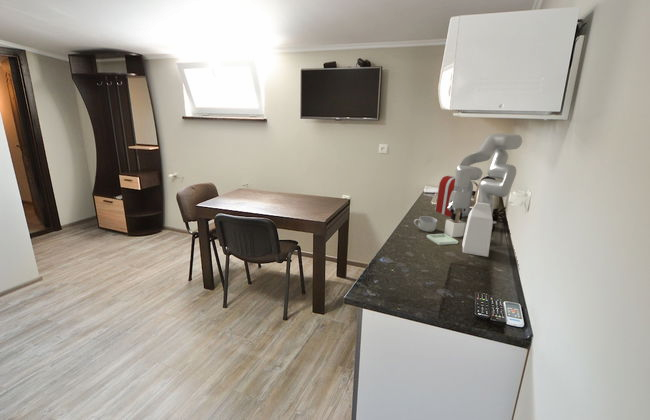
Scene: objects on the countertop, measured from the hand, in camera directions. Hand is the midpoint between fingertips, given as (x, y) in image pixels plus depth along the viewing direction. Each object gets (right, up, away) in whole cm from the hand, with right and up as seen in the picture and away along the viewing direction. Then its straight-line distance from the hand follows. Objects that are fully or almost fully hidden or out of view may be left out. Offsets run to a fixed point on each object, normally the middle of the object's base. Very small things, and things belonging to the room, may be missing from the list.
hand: (455, 219), depth 190 cm
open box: (0, -10, +3) cm, 10 cm away
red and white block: (+17, +3, +50) cm, 53 cm away
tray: (-11, -12, -7) cm, 18 cm away
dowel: (0, -9, +3) cm, 9 cm away
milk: (+3, -16, -18) cm, 24 cm away
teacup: (-16, -8, +9) cm, 20 cm away
